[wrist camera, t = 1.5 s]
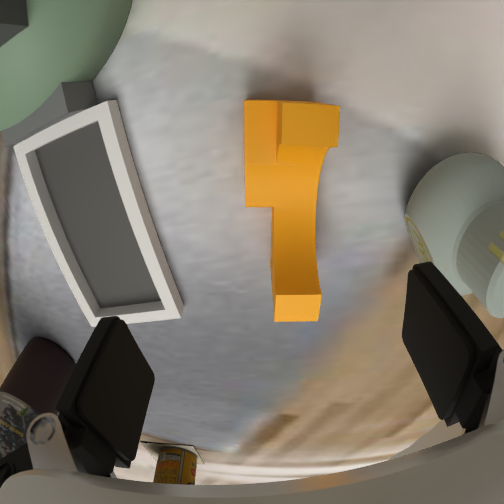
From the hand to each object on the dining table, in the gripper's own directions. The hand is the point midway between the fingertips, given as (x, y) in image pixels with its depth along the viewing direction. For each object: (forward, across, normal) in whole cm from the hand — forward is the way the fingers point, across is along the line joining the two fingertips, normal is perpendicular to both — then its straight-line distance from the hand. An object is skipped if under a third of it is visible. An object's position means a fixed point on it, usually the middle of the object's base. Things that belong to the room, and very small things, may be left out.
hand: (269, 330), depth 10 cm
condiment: (+14, +20, +36) cm, 44 cm away
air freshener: (+13, -15, +3) cm, 20 cm away
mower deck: (+13, +13, -10) cm, 21 cm away
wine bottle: (+14, +27, +13) cm, 33 cm away
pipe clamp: (+14, -1, 0) cm, 14 cm away
